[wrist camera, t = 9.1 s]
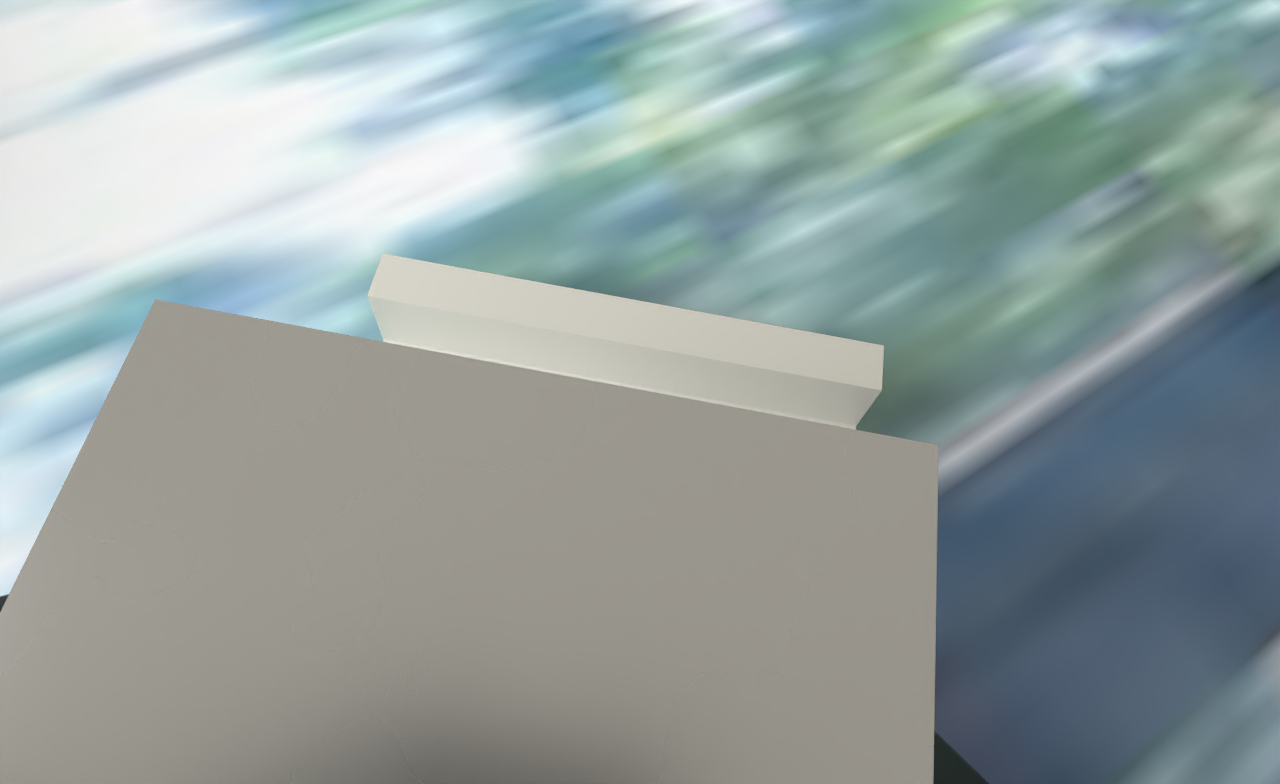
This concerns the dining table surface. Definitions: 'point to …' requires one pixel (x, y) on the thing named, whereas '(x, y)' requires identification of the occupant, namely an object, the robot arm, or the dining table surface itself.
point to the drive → (463, 580)
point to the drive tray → (626, 342)
